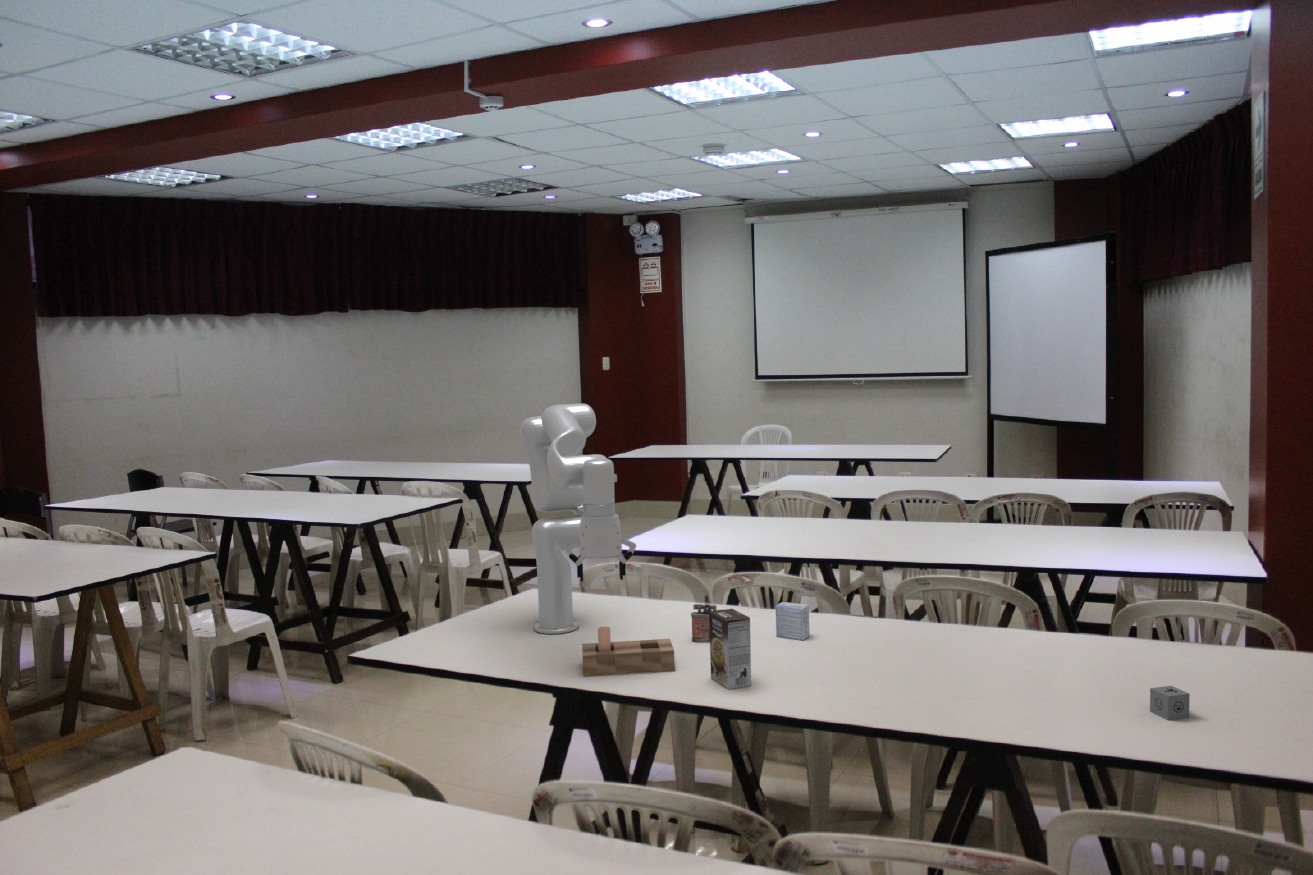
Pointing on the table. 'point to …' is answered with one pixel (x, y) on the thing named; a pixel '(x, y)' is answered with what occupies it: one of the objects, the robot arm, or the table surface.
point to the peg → (604, 639)
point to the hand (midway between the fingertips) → (601, 579)
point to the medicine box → (792, 621)
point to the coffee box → (730, 648)
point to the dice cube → (1169, 702)
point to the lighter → (701, 623)
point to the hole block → (628, 657)
